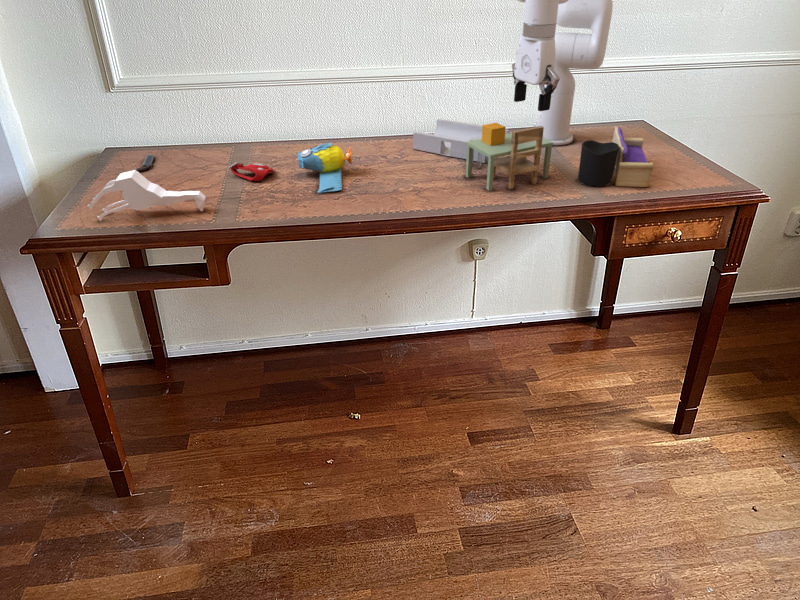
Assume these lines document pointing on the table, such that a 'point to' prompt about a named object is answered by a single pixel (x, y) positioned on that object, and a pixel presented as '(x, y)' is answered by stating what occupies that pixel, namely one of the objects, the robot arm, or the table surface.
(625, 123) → the table surface
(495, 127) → the block
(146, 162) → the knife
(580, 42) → the robot arm
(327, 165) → the blue yellow toy fish
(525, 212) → the table surface
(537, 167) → the chair
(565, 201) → the table surface
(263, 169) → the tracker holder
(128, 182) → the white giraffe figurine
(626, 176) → the toy sofa
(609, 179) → the pen holder
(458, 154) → the grey storage tray
